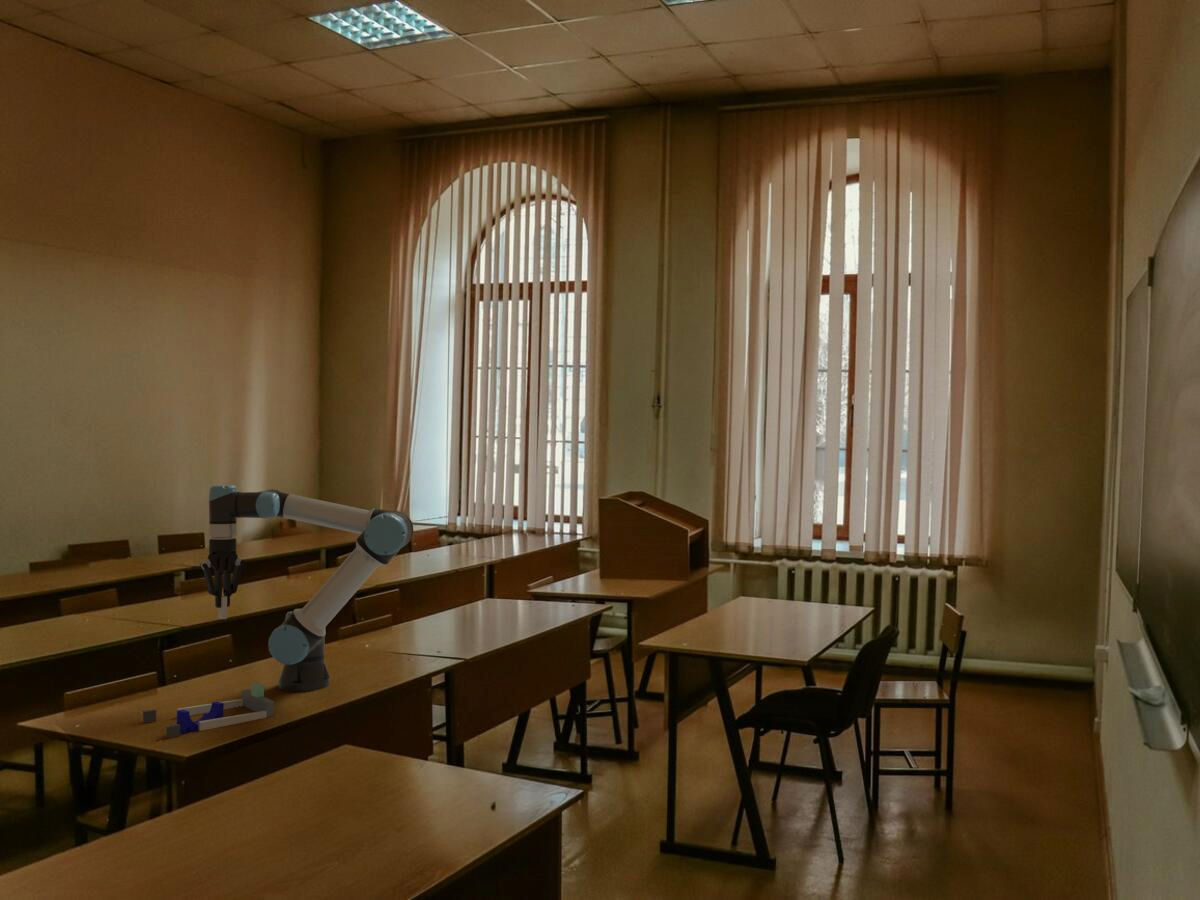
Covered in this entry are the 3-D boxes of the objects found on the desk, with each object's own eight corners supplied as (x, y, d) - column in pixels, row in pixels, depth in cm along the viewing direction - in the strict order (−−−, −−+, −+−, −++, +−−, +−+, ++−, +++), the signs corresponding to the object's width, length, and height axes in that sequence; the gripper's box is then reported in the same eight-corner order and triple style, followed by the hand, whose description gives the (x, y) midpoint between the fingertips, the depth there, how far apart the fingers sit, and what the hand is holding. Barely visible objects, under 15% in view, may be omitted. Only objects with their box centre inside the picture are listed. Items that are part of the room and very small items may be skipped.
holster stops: (154, 720, 278) (154, 709, 278) (179, 736, 263) (180, 725, 263) (143, 722, 276) (143, 711, 276) (167, 738, 261) (168, 727, 261)
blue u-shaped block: (212, 722, 278) (213, 700, 278) (223, 725, 275) (223, 703, 275) (173, 732, 268) (173, 709, 268) (183, 735, 265) (184, 712, 265)
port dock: (248, 706, 294) (248, 678, 294) (273, 719, 281) (273, 690, 281) (176, 717, 281) (177, 688, 281) (199, 732, 268) (200, 701, 268)
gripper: (238, 535, 307) (238, 614, 307) (195, 538, 298) (195, 619, 298) (249, 537, 302) (249, 617, 302) (206, 540, 293) (205, 622, 293)
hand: (222, 618), depth 300 cm, fingers closed
